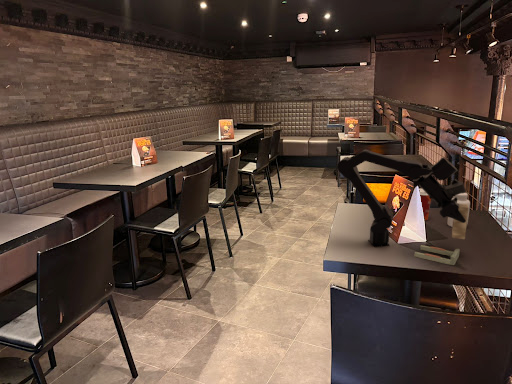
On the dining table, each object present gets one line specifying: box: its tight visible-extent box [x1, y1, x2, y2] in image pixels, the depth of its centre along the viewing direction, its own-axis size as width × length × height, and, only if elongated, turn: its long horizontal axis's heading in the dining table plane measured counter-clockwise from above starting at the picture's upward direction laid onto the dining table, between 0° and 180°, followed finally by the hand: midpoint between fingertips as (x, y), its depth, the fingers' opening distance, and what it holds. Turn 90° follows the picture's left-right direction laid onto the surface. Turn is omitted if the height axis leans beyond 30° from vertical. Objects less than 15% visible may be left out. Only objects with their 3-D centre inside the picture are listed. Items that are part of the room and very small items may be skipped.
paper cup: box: [418, 188, 432, 221], centre depth 174 cm, size 8×8×14 cm
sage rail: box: [413, 244, 461, 266], centre depth 136 cm, size 13×8×3 cm, turn 51°
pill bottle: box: [447, 192, 471, 228], centre depth 163 cm, size 8×8×15 cm
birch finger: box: [451, 204, 469, 240], centre depth 135 cm, size 4×4×12 cm
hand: (464, 220), depth 134 cm, fingers closed on birch finger, 4 cm apart
